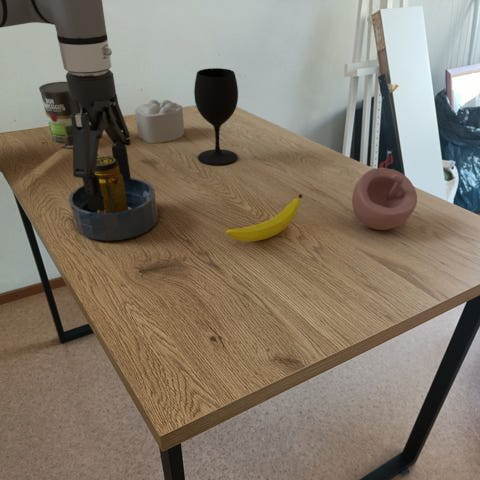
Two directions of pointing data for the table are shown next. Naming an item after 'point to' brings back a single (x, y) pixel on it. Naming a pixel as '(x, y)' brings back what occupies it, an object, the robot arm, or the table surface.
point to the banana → (267, 225)
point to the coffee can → (59, 111)
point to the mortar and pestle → (383, 199)
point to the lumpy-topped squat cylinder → (159, 121)
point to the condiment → (111, 185)
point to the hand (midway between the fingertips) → (111, 193)
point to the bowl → (119, 222)
